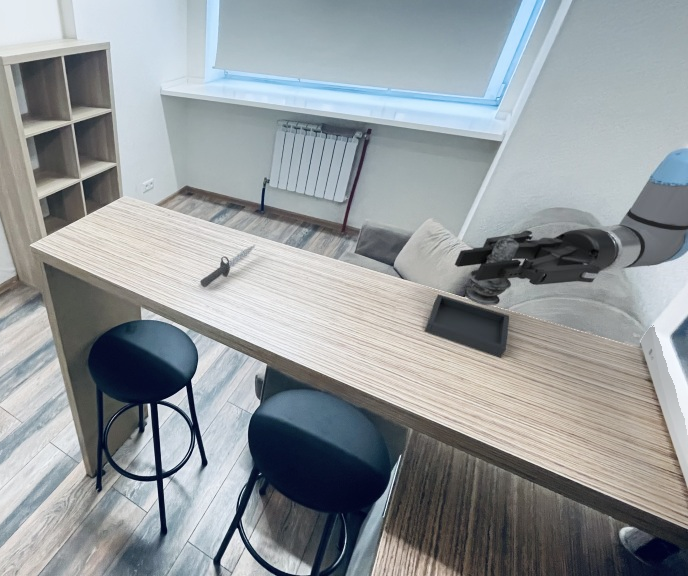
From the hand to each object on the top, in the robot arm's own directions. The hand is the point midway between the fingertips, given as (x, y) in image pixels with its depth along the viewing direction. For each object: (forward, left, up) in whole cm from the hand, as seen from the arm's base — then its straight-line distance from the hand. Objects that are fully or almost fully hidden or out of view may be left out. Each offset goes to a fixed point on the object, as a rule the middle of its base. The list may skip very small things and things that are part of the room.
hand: (469, 265), depth 66 cm
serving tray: (0, -5, -14) cm, 15 cm away
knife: (+30, +29, -14) cm, 43 cm away
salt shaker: (0, -5, -7) cm, 9 cm away
